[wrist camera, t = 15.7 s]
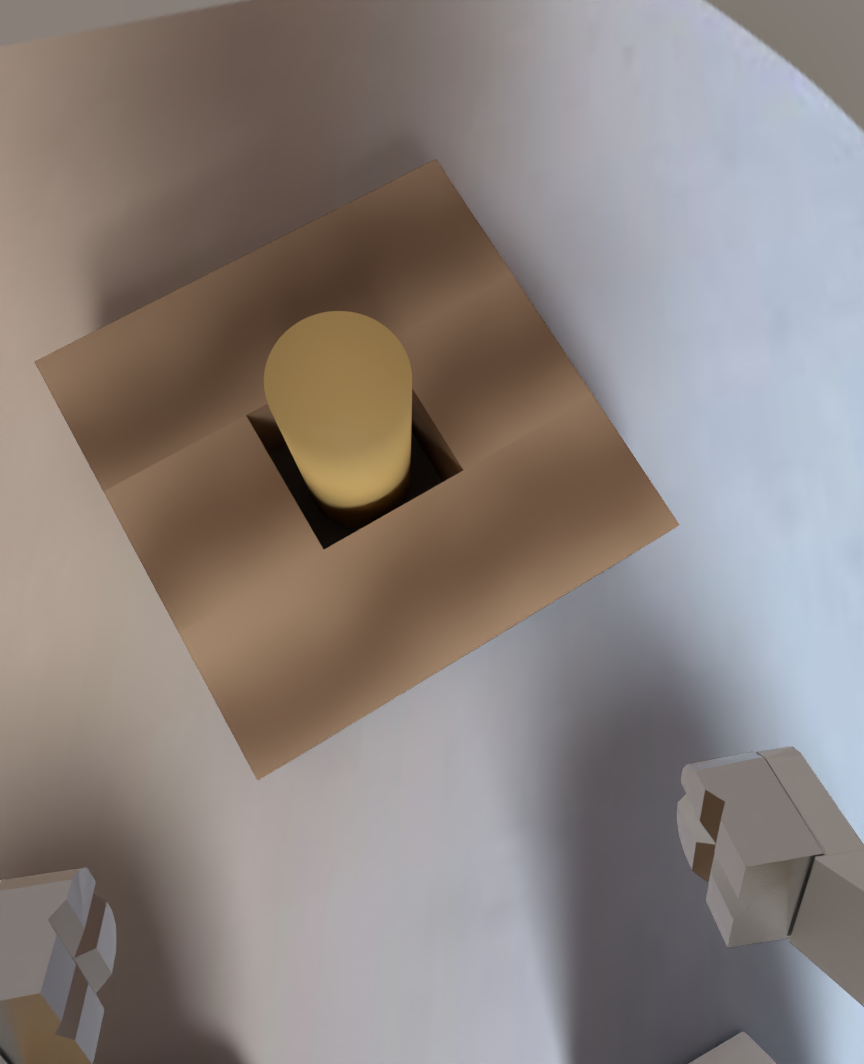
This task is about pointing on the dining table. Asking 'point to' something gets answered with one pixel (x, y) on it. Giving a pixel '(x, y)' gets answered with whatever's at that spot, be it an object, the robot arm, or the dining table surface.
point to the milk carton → (736, 1052)
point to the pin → (345, 413)
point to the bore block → (285, 501)
